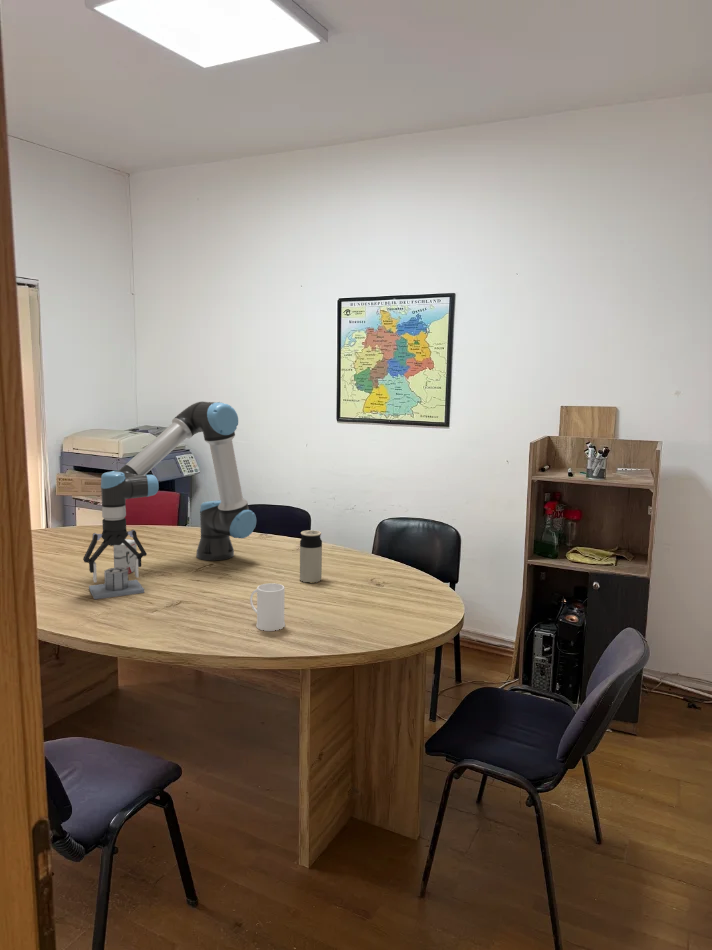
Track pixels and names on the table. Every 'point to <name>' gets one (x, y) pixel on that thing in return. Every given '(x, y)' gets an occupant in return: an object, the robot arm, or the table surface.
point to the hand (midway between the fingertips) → (116, 579)
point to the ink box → (125, 556)
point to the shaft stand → (101, 592)
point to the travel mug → (310, 556)
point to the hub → (116, 579)
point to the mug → (269, 606)
